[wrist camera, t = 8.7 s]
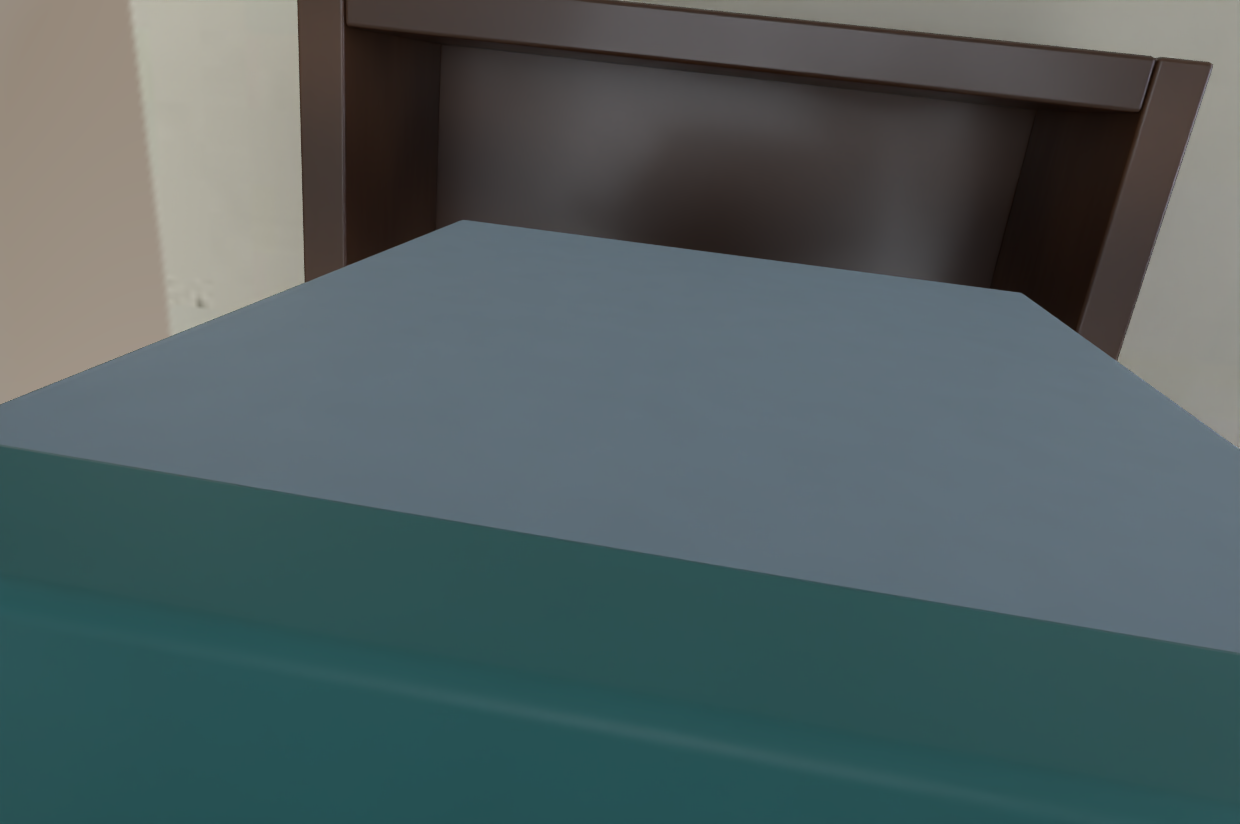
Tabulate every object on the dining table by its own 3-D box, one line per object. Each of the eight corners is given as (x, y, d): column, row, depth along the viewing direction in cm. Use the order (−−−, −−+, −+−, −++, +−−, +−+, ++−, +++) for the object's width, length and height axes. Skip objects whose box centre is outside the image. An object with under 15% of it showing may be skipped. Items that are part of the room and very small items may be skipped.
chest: (419, 3, 21) (295, -34, 15) (1073, 73, 20) (1216, 62, 14) (406, 661, 28) (317, 811, 22) (890, 745, 27) (932, 929, 21)
